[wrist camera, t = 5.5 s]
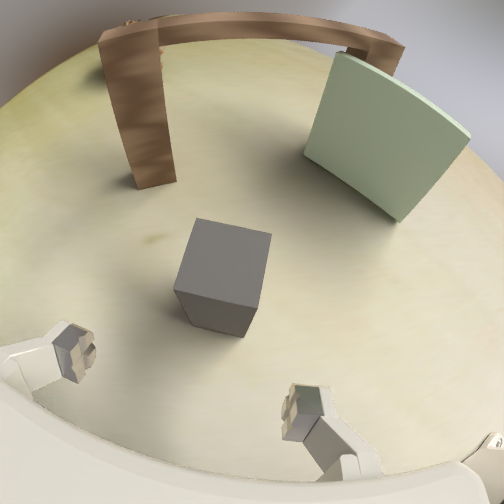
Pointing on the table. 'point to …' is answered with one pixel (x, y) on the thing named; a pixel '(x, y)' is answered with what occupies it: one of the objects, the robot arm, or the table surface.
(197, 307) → the gray rectangular block
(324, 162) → the door
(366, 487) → the robot arm
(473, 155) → the table surface
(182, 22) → the door frame
